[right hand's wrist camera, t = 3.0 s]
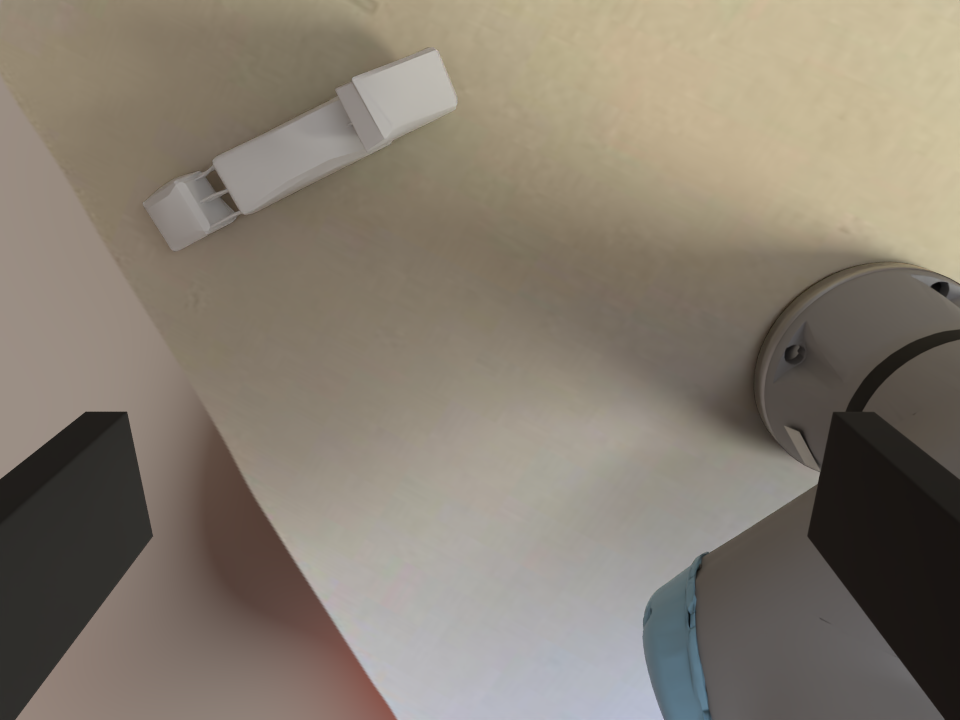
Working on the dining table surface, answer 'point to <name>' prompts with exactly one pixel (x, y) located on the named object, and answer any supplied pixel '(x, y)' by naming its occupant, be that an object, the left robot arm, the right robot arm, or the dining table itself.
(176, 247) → the clamp
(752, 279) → the dining table surface
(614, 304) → the dining table surface
